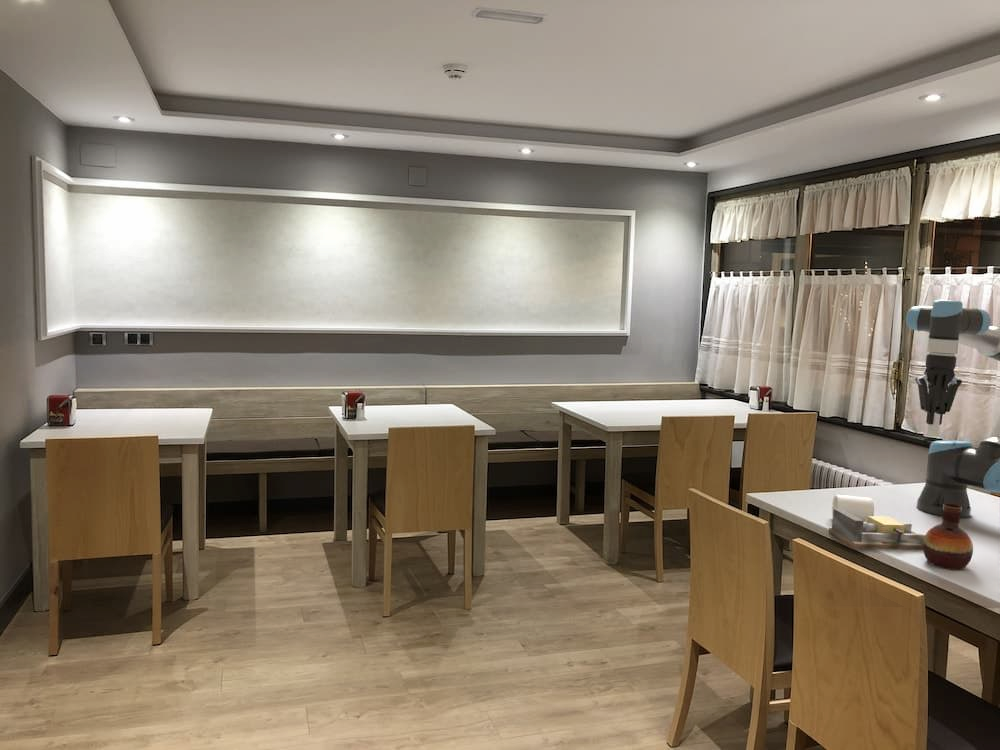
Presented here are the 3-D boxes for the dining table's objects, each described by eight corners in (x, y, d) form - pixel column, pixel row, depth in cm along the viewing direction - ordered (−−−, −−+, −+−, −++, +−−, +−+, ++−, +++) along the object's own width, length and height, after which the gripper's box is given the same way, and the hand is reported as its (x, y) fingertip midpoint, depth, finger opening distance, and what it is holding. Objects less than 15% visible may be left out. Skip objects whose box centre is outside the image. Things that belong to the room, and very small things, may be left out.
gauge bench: (908, 533, 223) (910, 509, 223) (939, 550, 210) (942, 524, 209) (828, 531, 221) (831, 507, 220) (855, 548, 207) (858, 522, 207)
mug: (872, 528, 227) (875, 501, 227) (836, 524, 229) (839, 498, 228) (862, 517, 239) (864, 491, 238) (827, 513, 241) (830, 488, 240)
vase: (978, 574, 192) (985, 513, 190) (930, 569, 194) (937, 509, 192) (960, 559, 203) (967, 502, 201) (914, 554, 204) (921, 497, 203)
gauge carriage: (886, 531, 219) (887, 516, 219) (910, 544, 208) (912, 529, 208) (855, 530, 219) (857, 515, 218) (879, 544, 207) (880, 528, 207)
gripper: (954, 354, 225) (945, 433, 228) (912, 352, 224) (903, 432, 227) (972, 356, 218) (962, 438, 221) (928, 354, 217) (919, 437, 219)
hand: (932, 435), depth 224 cm, fingers closed
